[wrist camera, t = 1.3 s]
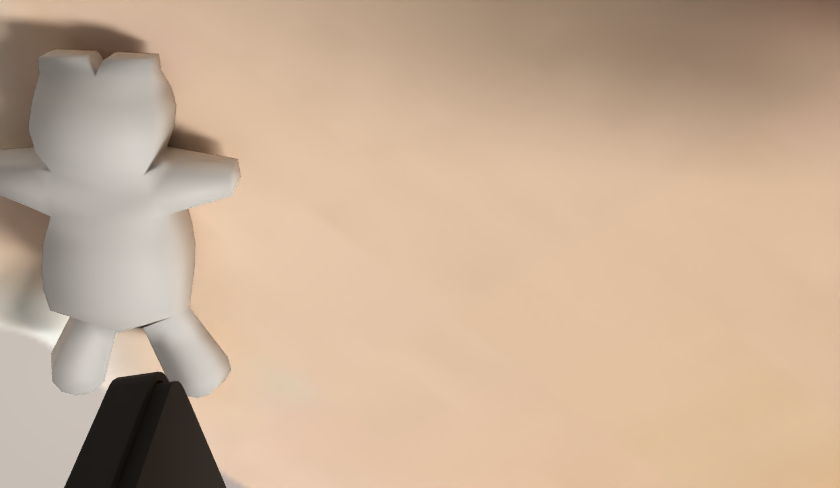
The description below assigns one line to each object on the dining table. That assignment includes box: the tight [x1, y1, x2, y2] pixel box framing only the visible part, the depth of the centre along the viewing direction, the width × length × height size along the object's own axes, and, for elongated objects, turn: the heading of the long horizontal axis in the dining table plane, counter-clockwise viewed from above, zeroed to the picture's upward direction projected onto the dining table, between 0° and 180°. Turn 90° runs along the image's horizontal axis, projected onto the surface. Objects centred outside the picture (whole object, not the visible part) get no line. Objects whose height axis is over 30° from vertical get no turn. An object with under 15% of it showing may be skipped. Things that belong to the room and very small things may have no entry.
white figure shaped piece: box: [0, 49, 241, 398], centre depth 32 cm, size 10×5×15 cm
